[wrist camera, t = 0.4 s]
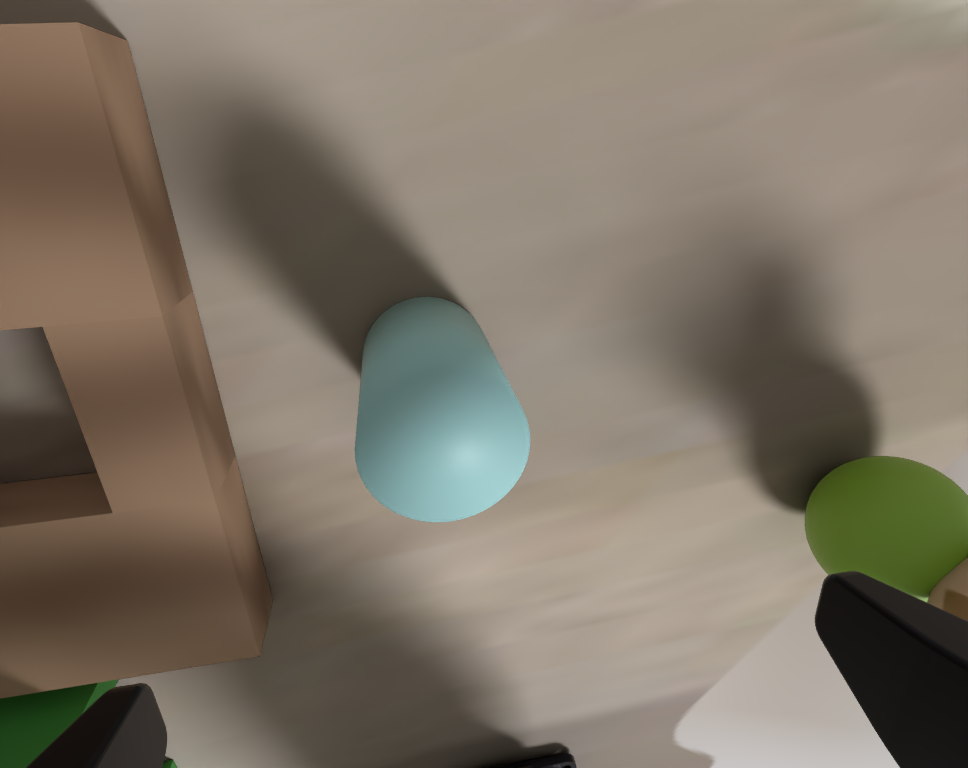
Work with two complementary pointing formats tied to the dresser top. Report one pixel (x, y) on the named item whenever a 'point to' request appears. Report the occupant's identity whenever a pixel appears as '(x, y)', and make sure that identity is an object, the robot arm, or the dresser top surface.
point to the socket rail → (112, 391)
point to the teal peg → (436, 414)
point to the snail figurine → (894, 528)
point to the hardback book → (43, 720)
